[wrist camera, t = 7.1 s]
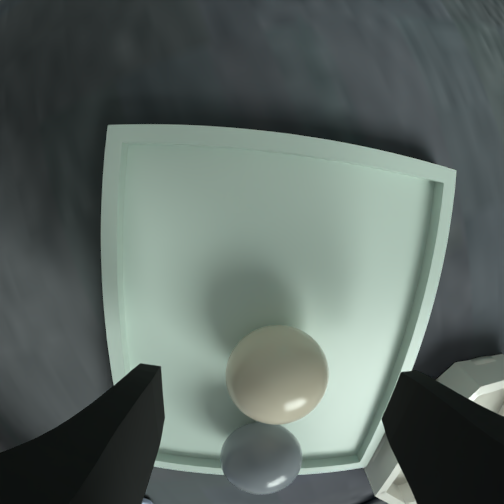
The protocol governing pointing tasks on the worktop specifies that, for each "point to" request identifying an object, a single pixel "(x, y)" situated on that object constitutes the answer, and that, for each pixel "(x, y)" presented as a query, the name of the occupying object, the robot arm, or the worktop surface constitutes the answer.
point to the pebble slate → (261, 458)
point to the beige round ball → (277, 374)
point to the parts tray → (267, 274)
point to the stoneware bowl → (461, 381)
